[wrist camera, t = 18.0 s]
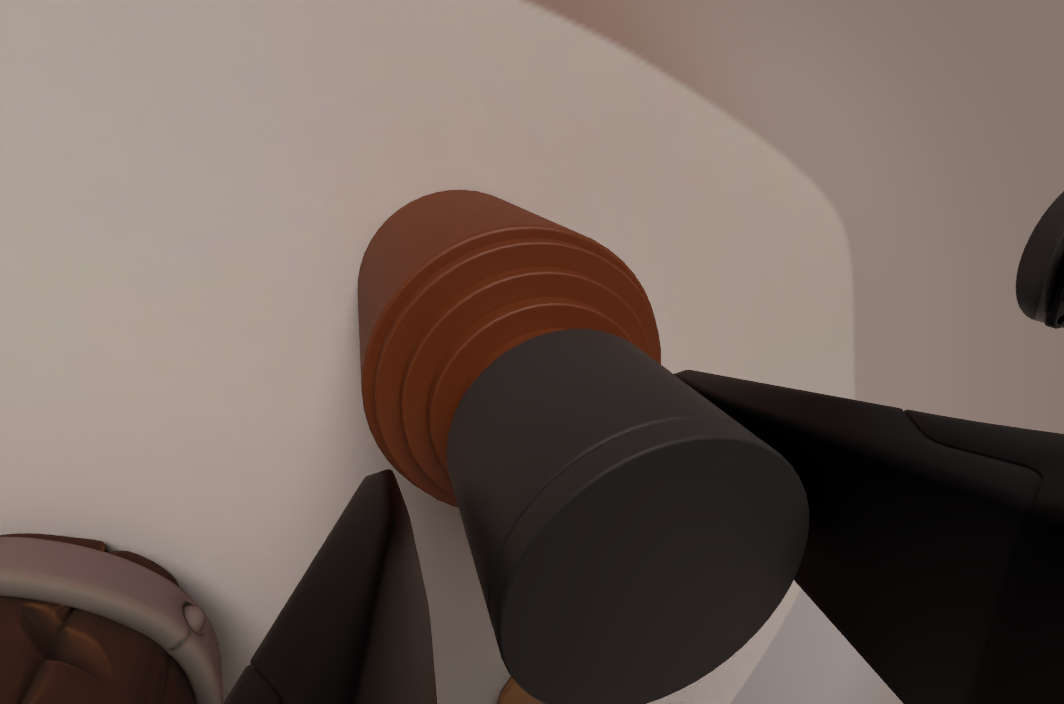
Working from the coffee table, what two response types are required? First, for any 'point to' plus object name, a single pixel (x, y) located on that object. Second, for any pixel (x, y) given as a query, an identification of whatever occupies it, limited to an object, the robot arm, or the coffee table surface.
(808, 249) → the coffee table surface
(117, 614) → the flowerpot
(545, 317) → the bottle
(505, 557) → the cap
